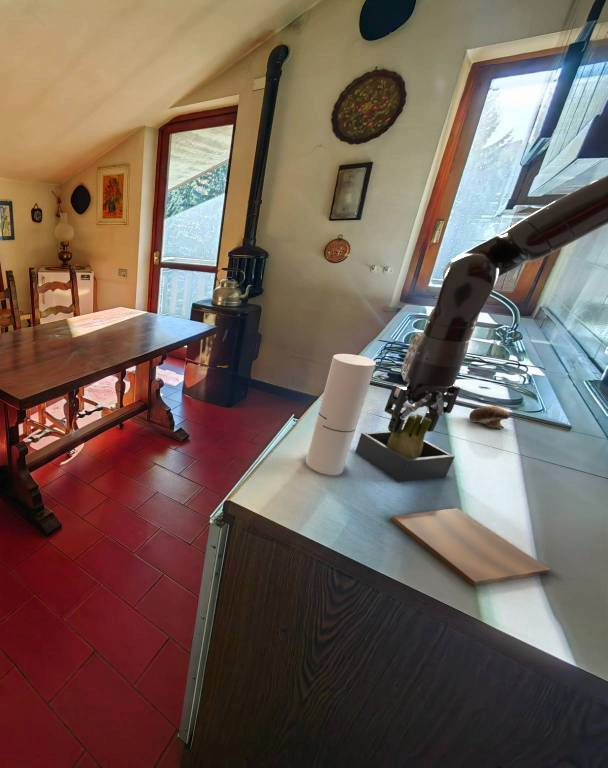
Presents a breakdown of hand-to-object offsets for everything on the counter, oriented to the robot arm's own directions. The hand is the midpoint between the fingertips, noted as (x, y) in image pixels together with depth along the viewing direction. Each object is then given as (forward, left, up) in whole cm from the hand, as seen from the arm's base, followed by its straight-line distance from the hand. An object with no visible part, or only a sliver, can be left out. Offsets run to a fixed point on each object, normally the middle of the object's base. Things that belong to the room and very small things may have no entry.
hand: (410, 431), depth 83 cm
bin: (0, 0, -9) cm, 9 cm away
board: (+10, +22, -9) cm, 26 cm away
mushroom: (-41, -13, -9) cm, 44 cm away
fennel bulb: (0, 0, -8) cm, 8 cm away
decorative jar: (-55, -43, -9) cm, 70 cm away
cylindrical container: (+17, -2, -9) cm, 19 cm away
